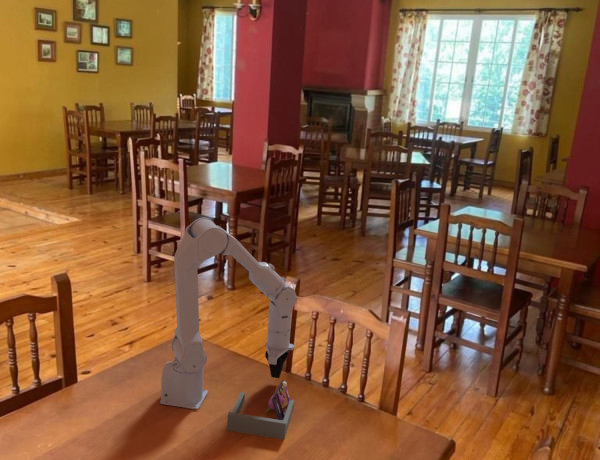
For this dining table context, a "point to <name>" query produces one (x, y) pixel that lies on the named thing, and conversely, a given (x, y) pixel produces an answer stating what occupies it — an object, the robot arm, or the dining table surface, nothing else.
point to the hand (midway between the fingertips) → (275, 376)
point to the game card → (279, 401)
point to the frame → (258, 421)
